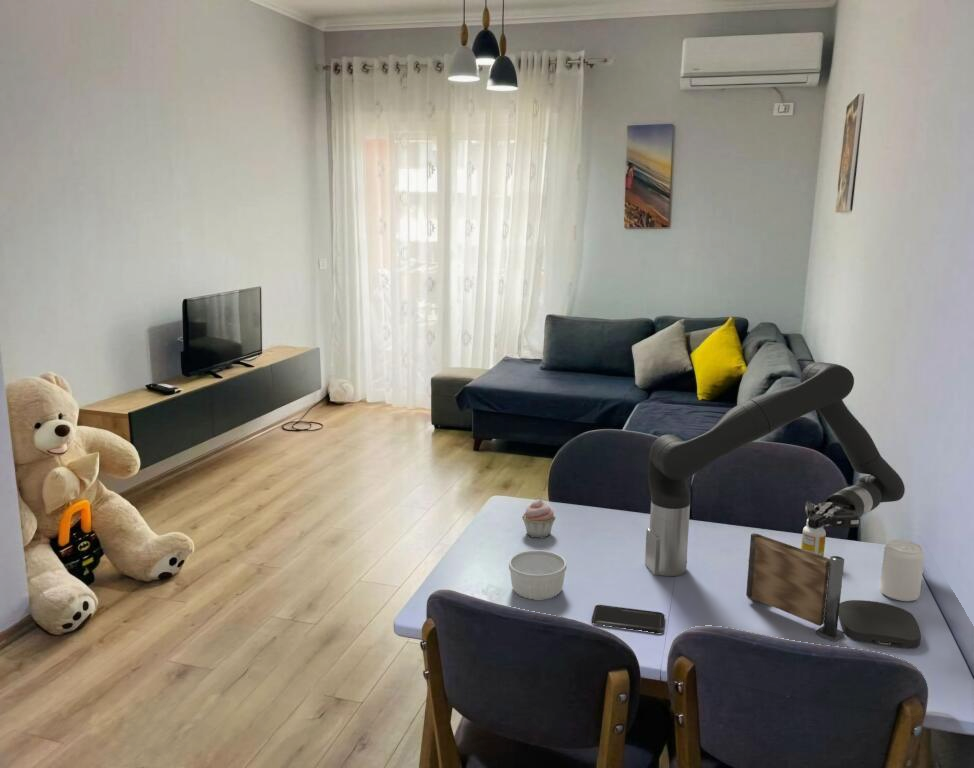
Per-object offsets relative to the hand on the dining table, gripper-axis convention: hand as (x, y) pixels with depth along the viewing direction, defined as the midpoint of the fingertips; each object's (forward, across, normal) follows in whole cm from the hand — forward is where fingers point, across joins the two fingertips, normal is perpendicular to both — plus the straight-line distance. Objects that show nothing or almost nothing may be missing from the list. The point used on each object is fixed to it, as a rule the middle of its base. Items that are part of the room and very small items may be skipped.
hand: (812, 524), depth 173 cm
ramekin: (+44, -42, +17) cm, 64 cm away
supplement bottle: (-22, -10, +18) cm, 30 cm away
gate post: (+10, +2, +18) cm, 21 cm away
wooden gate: (+11, +1, +16) cm, 20 cm away
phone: (+39, -20, +18) cm, 47 cm away
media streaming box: (+1, +16, +18) cm, 25 cm away
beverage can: (-18, +13, +18) cm, 28 cm away
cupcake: (+22, -65, +17) cm, 71 cm away
